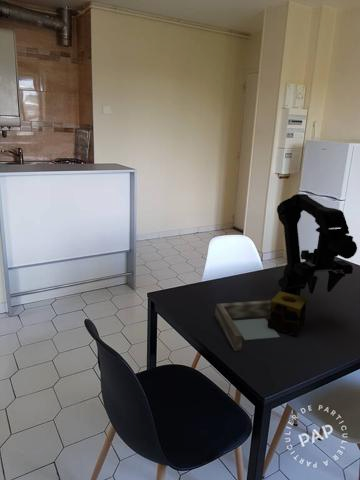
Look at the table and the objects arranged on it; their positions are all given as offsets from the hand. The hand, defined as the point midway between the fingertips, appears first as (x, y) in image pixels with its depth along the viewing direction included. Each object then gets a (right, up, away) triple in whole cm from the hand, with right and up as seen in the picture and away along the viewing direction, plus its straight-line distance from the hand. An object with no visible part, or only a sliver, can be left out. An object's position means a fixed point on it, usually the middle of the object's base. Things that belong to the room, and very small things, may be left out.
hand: (319, 292), depth 125 cm
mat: (-22, -12, -1) cm, 25 cm away
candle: (-11, -12, +1) cm, 16 cm away
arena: (-23, -12, -1) cm, 26 cm away
